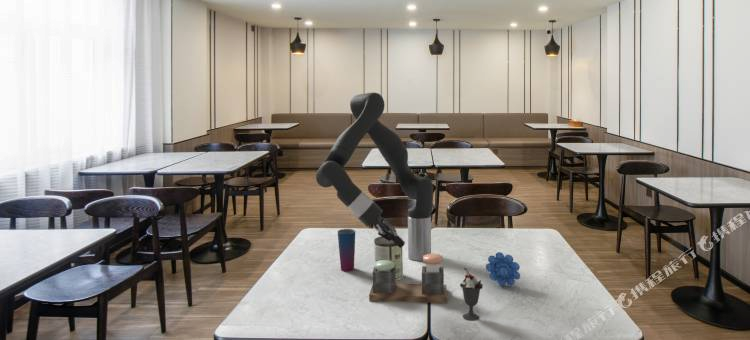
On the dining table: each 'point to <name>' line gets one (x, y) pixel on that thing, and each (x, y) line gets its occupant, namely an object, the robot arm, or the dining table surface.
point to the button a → (384, 265)
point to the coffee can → (389, 254)
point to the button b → (432, 262)
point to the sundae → (471, 295)
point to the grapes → (503, 269)
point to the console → (408, 288)
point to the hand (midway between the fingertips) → (402, 245)
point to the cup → (346, 248)
